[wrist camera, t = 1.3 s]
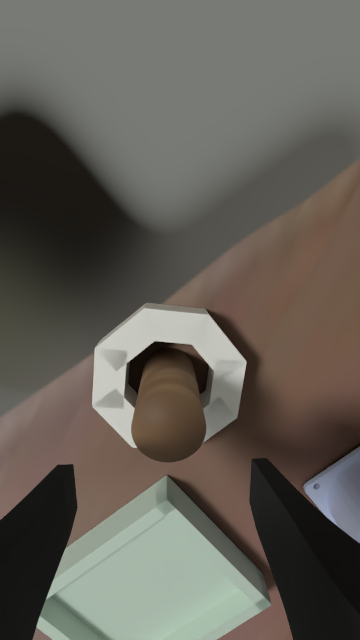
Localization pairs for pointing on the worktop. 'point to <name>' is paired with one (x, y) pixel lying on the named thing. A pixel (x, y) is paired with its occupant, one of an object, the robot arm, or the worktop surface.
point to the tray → (153, 576)
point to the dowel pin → (168, 408)
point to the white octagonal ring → (175, 327)
